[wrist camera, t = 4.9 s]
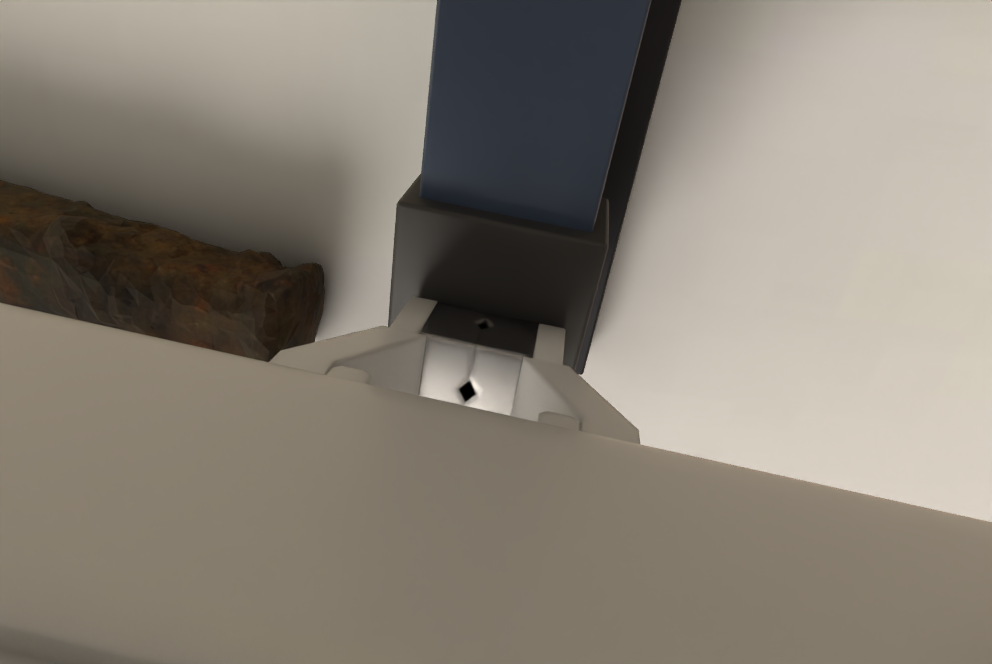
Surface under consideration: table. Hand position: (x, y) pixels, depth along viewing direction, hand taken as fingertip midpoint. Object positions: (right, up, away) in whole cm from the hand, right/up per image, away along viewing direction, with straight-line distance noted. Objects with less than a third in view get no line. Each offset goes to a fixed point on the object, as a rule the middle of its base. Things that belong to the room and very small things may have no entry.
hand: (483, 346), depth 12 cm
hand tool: (-14, +3, +7) cm, 16 cm away
